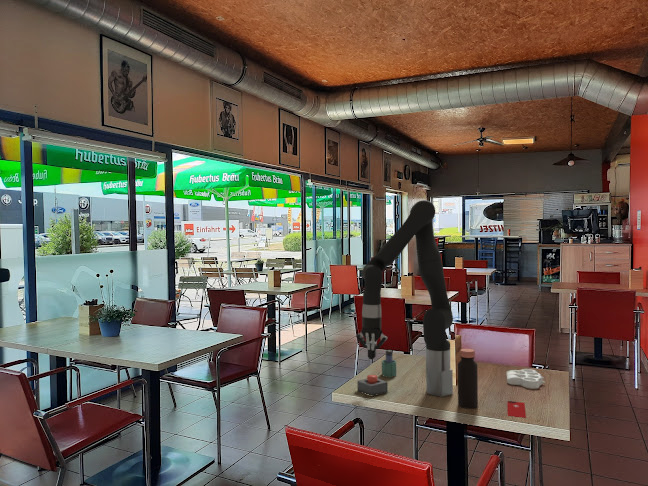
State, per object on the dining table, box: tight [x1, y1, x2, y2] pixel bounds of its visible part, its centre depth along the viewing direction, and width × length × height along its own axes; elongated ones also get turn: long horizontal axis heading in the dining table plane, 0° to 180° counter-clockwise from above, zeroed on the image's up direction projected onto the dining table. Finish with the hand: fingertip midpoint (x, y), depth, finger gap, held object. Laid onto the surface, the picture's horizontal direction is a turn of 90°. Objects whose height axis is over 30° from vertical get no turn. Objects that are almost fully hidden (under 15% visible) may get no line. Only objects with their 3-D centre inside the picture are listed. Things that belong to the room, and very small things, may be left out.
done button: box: [366, 374, 378, 384], centre depth 188 cm, size 4×4×3 cm
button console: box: [356, 377, 389, 396], centre depth 188 cm, size 8×8×4 cm
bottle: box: [457, 348, 479, 410], centre depth 171 cm, size 7×7×20 cm
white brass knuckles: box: [506, 368, 546, 390], centre depth 198 cm, size 3×18×15 cm
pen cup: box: [381, 359, 397, 378], centre depth 210 cm, size 6×6×6 cm
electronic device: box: [506, 400, 527, 419], centre depth 167 cm, size 6×1×15 cm
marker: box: [385, 349, 394, 363], centre depth 210 cm, size 3×3×10 cm
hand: (371, 358), depth 188 cm, fingers closed
